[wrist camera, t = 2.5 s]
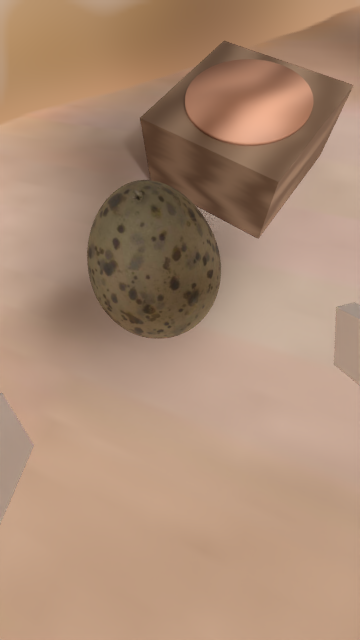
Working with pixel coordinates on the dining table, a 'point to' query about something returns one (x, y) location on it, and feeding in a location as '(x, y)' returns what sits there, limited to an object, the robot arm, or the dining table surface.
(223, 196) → the pedestal
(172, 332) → the decorative egg
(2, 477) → the robot arm
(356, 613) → the dining table surface
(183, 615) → the dining table surface
